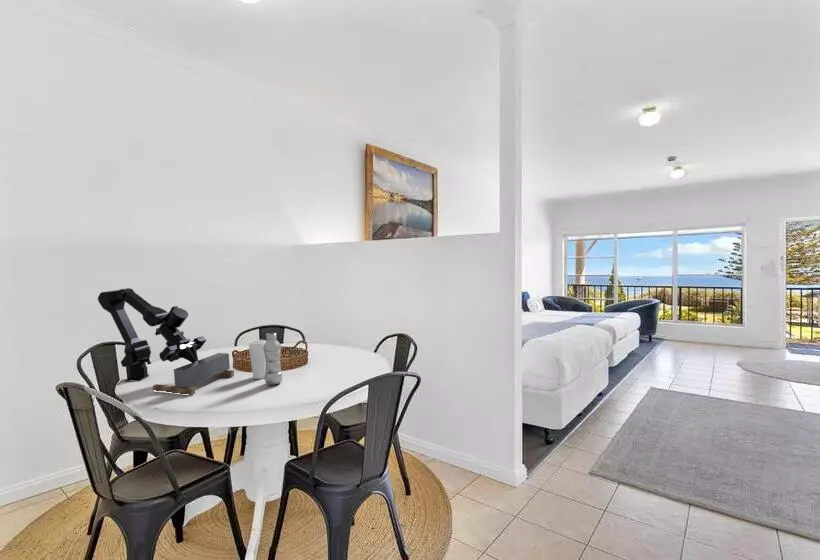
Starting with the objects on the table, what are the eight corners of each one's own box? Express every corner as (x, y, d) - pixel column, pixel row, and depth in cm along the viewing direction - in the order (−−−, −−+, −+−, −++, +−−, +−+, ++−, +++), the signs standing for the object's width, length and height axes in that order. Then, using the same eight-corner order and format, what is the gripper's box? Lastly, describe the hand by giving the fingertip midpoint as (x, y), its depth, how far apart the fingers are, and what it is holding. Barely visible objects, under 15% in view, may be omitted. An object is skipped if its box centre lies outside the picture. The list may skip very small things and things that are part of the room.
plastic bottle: (267, 381, 165) (264, 332, 163) (284, 380, 166) (281, 331, 164) (262, 387, 159) (259, 335, 157) (281, 386, 159) (278, 335, 158)
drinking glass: (271, 374, 174) (269, 339, 172) (264, 380, 167) (261, 343, 166) (255, 374, 174) (253, 339, 173) (248, 380, 168) (245, 343, 166)
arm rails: (153, 392, 157) (152, 385, 157) (198, 373, 178) (198, 367, 178) (191, 395, 152) (191, 389, 152) (234, 376, 173) (233, 370, 173)
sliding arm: (175, 386, 153) (173, 369, 153) (219, 368, 175) (218, 352, 175) (186, 387, 152) (184, 370, 151) (229, 368, 174) (228, 353, 173)
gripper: (181, 343, 177) (204, 369, 175) (141, 354, 159) (167, 384, 157) (194, 325, 174) (218, 352, 172) (156, 335, 156) (182, 365, 154)
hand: (197, 363), depth 164 cm, fingers closed, pressing on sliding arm
